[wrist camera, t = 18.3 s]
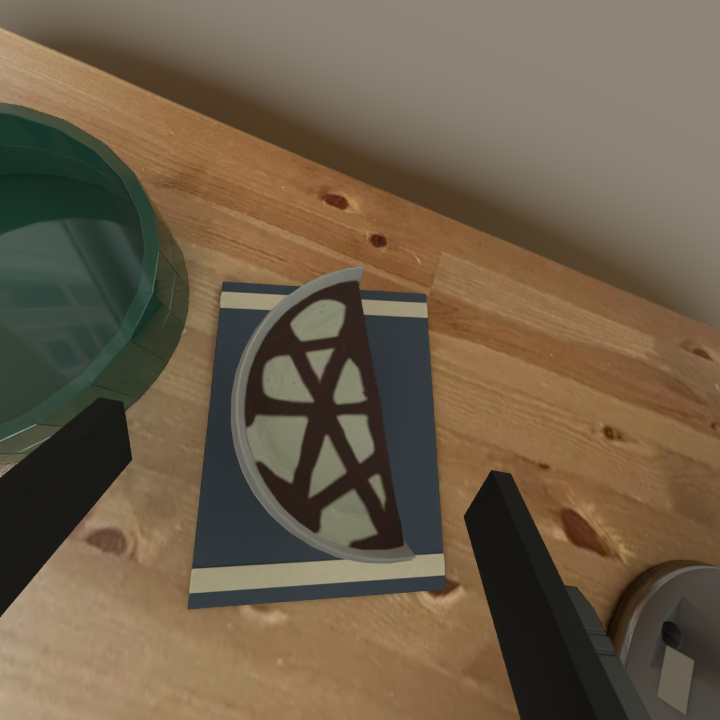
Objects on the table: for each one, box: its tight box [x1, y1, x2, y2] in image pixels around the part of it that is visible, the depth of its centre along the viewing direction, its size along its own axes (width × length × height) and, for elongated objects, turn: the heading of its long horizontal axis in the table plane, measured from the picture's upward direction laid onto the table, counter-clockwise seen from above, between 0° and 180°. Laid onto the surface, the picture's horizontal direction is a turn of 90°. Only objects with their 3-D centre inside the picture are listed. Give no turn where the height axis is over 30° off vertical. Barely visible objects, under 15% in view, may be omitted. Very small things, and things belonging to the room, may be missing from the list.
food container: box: [231, 266, 416, 564], centre depth 17 cm, size 12×6×10 cm, turn 9°
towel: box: [188, 282, 446, 609], centre depth 22 cm, size 15×20×1 cm
